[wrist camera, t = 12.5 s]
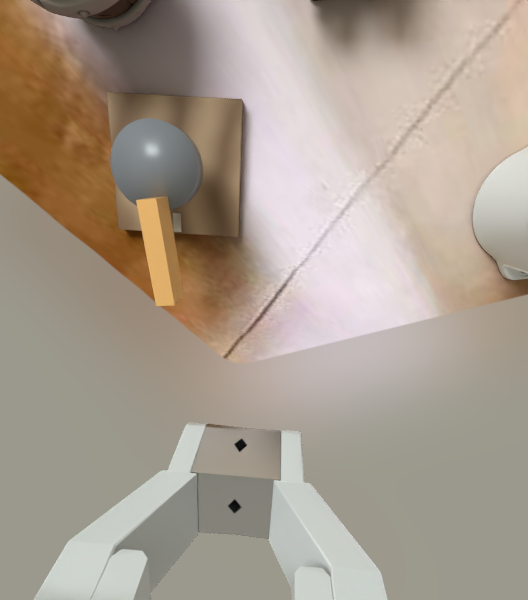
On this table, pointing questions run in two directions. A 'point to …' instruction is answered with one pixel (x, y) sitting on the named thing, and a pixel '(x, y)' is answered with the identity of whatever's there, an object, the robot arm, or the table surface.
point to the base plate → (213, 149)
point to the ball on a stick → (157, 192)
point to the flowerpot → (98, 10)
